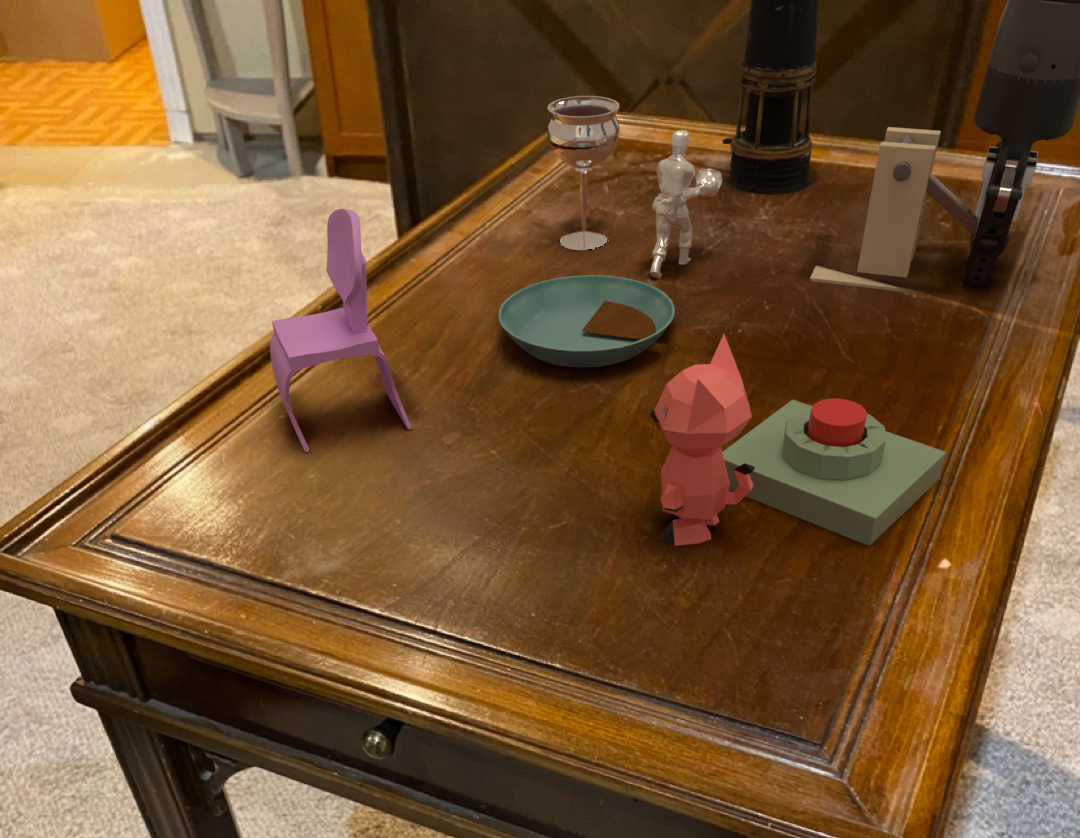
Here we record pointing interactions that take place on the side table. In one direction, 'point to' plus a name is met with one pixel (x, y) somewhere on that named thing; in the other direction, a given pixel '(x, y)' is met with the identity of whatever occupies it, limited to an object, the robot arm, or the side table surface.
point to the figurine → (678, 199)
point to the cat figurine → (701, 445)
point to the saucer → (580, 319)
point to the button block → (834, 473)
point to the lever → (955, 204)
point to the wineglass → (583, 149)
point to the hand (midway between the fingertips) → (975, 281)
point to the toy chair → (332, 320)
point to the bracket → (892, 211)
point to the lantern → (775, 98)
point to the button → (837, 422)
